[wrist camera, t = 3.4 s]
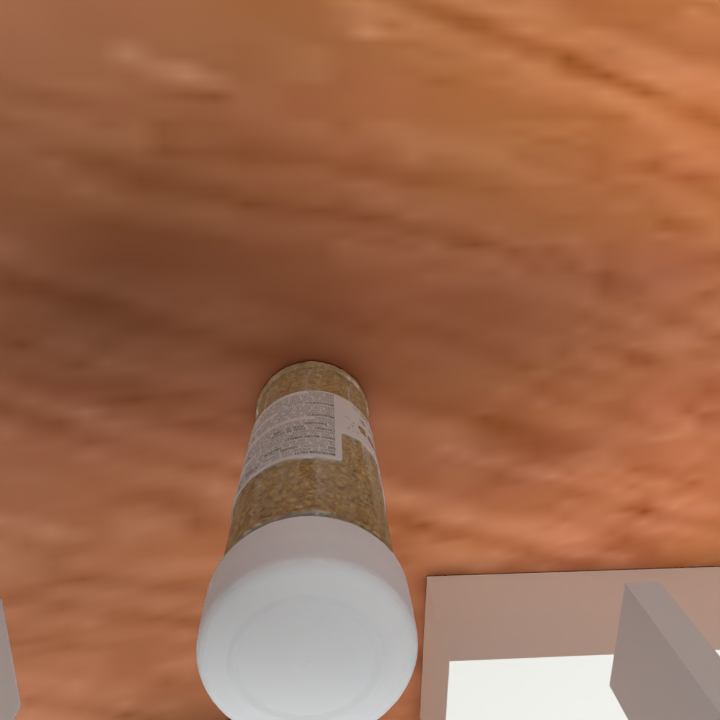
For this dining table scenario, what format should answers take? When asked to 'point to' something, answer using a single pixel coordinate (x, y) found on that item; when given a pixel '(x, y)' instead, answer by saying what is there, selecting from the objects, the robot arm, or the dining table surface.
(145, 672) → the dining table surface
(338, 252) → the dining table surface
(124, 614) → the dining table surface
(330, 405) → the sprinkles bottle
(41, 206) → the dining table surface
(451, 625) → the plinth
